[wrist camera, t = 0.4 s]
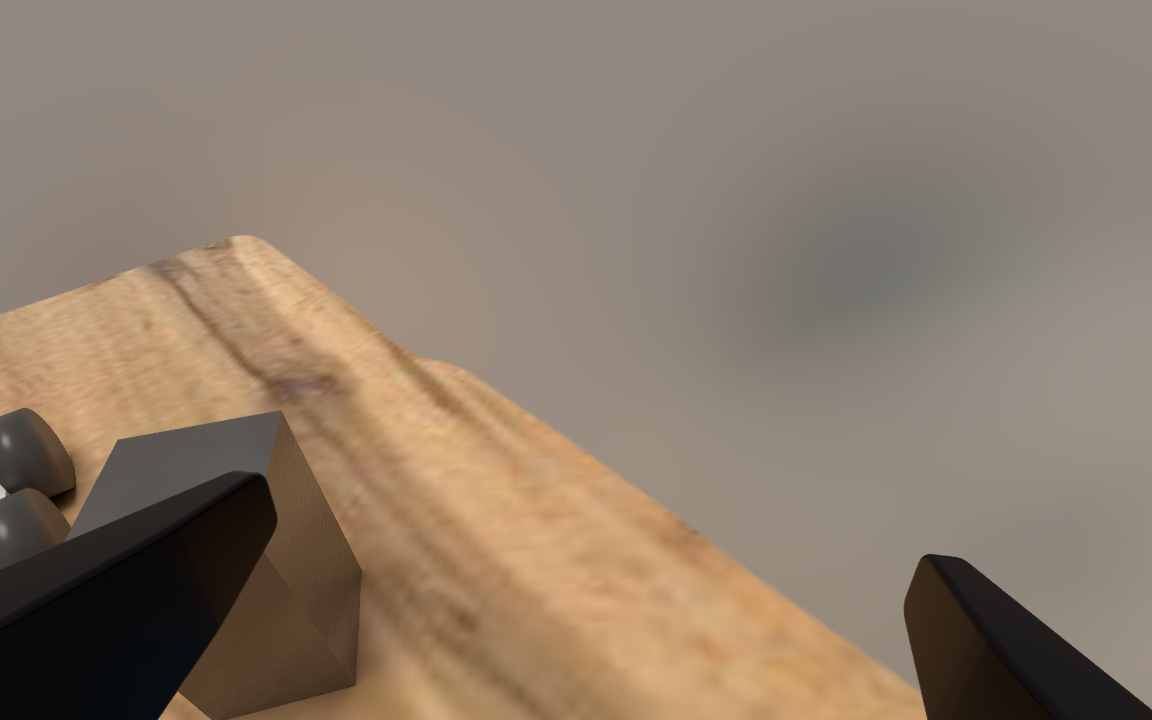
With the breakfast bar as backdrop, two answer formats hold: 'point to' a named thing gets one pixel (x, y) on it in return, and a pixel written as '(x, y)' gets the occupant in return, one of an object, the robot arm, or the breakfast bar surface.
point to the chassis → (31, 486)
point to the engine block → (279, 580)
